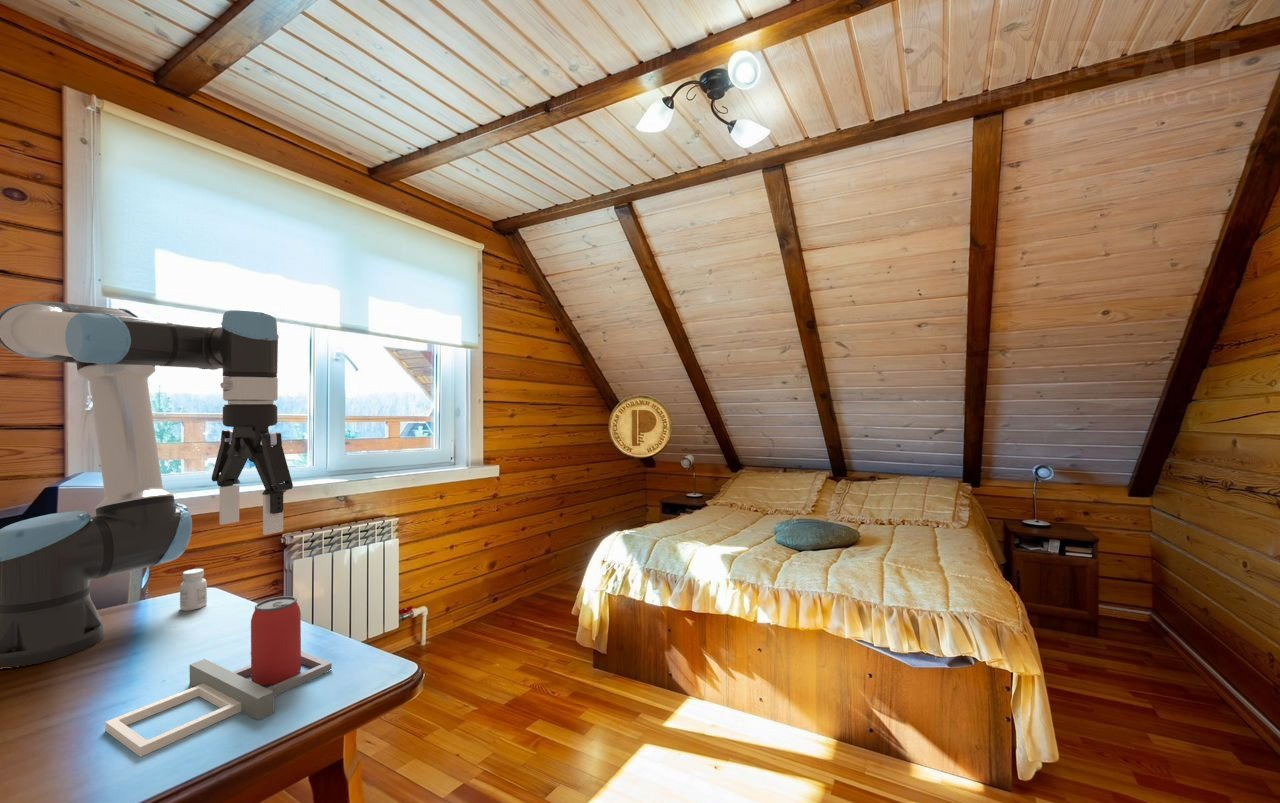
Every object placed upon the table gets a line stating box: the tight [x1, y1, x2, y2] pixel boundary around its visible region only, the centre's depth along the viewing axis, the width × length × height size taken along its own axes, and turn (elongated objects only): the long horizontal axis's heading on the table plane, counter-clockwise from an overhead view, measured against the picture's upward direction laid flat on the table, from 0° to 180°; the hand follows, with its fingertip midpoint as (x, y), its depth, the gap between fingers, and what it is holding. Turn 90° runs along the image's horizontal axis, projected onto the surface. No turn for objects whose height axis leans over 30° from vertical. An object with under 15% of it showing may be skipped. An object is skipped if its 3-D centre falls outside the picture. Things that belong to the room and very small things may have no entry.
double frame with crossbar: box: [104, 650, 333, 758], centre depth 80 cm, size 20×24×3 cm
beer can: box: [250, 595, 302, 688], centre depth 85 cm, size 7×7×12 cm
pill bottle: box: [179, 568, 208, 612], centre depth 114 cm, size 4×4×8 cm
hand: (250, 528), depth 91 cm, fingers open, 13 cm apart
